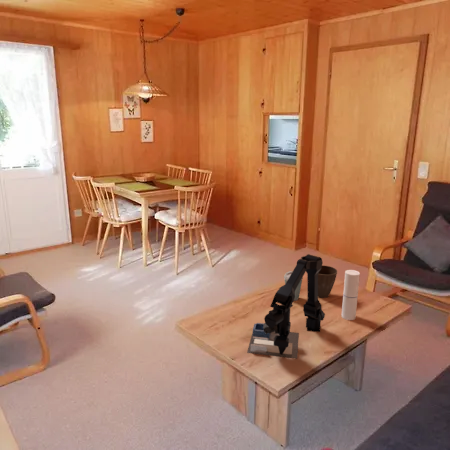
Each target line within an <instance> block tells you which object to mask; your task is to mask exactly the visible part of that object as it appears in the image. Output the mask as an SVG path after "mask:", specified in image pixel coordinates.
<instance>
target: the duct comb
mask: <svg viewBox="0 0 450 450" xmlns="http://www.w3.org/2000/svg"><path fill="white" fill-rule="evenodd" d="M264 323H265V322H264ZM264 323H263V322H262V323H261V322H256V323H253V327H252V334H251V338H250V340H249V344H248V346H247V350H246V353H247V354H254V355H263V356H271V357H280V358H285V359H286V358H288V359H295V360H296V359H297V360H298V350H299V337H300V335H299V334H300V333H299V332H296V331H295V332H293V331H290V333H289V335H288V338H289V343H292V354H282V355H281V354H280V353H275V352H267V346H264V345H255V344H254V340H255V339H259V340H268V341H274V337H275V336H280V335H278V334H276V333H275V332H272V333H268V334H265V332H264V328H263V325H264Z"/></svg>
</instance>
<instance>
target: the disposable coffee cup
mask: <svg viewBox="0 0 450 450" xmlns="http://www.w3.org/2000/svg"><path fill="white" fill-rule="evenodd" d="M292 272H293V271H288V272H287V271H286V272H285V274H284V276H283V279H284V285H285V284H286V282H287V281H288V279H289V277H290V275H291V274H292ZM303 279H304V276H303V277H302V279H301V281H300V283H299V284H298V286H297V288H296V290H295V298H294V301H298V300H299V298H300V295H301V294H300V292H301V288H302V283H303Z"/></svg>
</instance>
